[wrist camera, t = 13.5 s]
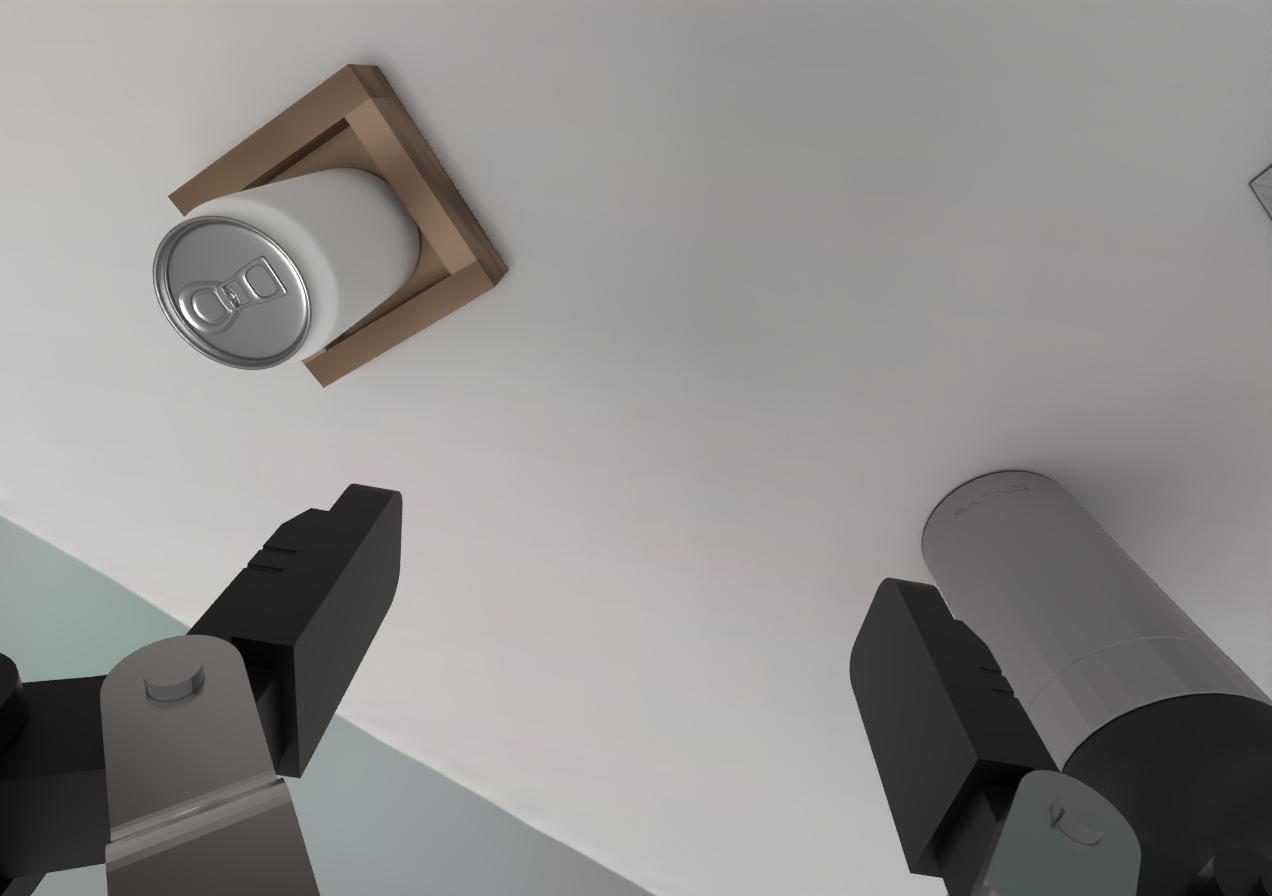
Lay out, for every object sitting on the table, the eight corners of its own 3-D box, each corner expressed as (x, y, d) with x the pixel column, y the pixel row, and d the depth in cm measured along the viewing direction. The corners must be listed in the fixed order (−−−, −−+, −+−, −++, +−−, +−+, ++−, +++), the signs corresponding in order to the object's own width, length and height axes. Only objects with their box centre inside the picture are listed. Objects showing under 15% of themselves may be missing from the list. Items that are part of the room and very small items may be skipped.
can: (269, 199, 35) (100, 249, 25) (377, 143, 34) (247, 169, 23) (343, 315, 38) (218, 405, 27) (446, 267, 37) (357, 342, 26)
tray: (508, 270, 38) (494, 287, 35) (349, 364, 40) (323, 387, 37) (377, 66, 33) (348, 63, 30) (210, 186, 36) (167, 196, 33)
